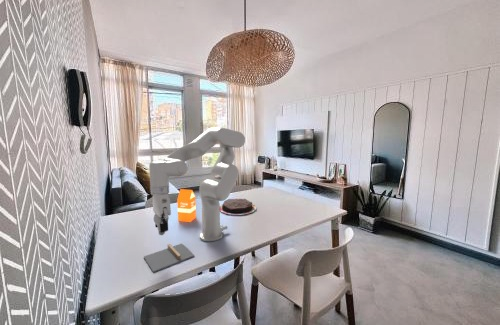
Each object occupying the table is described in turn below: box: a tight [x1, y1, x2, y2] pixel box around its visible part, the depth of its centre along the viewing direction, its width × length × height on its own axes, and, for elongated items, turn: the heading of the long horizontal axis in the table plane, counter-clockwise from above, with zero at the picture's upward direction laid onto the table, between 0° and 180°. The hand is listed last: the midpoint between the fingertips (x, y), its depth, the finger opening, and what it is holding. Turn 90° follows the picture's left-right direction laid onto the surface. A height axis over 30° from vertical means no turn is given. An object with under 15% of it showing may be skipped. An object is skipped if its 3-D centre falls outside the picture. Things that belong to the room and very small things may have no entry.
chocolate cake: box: [220, 198, 257, 216], centre depth 161 cm, size 28×28×7 cm
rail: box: [167, 243, 181, 260], centre depth 101 cm, size 1×13×2 cm, turn 41°
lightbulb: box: [153, 213, 170, 236], centre depth 95 cm, size 6×6×11 cm
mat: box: [143, 243, 195, 274], centre depth 98 cm, size 18×14×1 cm
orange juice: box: [176, 188, 197, 223], centre depth 140 cm, size 8×9×20 cm
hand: (161, 228), depth 96 cm, fingers closed on lightbulb, 5 cm apart
